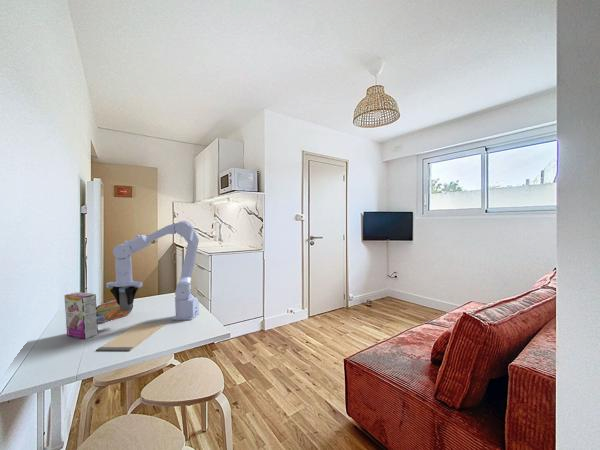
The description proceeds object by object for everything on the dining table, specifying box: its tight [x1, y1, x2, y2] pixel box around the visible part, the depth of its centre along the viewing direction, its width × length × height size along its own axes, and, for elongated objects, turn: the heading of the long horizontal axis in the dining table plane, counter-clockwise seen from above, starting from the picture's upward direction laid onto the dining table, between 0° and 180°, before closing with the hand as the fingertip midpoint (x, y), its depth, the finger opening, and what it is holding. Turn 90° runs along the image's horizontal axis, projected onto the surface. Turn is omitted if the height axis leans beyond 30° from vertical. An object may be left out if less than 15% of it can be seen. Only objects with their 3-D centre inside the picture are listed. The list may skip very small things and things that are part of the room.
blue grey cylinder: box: [119, 287, 131, 311], centre depth 106 cm, size 4×4×10 cm
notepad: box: [96, 323, 166, 352], centre depth 97 cm, size 12×21×1 cm, turn 177°
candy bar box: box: [63, 291, 99, 340], centre depth 98 cm, size 11×5×16 cm, turn 71°
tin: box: [96, 299, 134, 324], centre depth 115 cm, size 15×3×8 cm, turn 148°
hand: (125, 303), depth 107 cm, fingers closed on blue grey cylinder, 4 cm apart
